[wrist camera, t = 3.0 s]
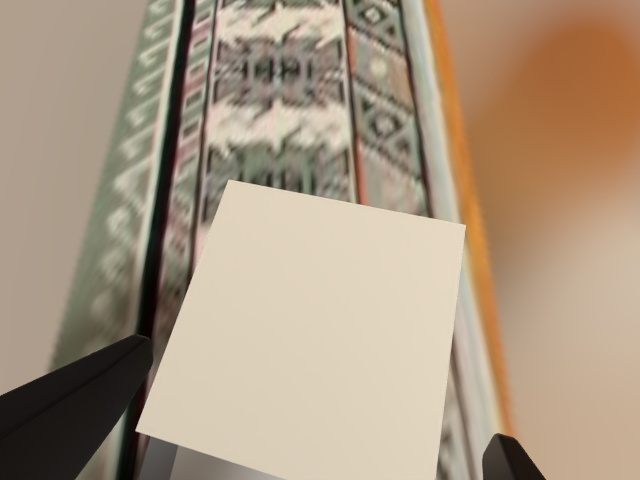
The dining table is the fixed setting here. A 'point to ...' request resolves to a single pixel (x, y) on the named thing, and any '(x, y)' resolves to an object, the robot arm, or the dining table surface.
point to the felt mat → (192, 465)
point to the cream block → (313, 339)
